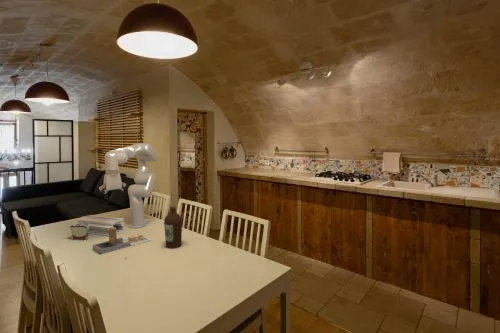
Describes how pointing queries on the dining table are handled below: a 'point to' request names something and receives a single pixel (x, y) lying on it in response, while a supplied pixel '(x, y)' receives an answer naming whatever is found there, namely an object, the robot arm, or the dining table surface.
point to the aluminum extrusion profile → (102, 224)
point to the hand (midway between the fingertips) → (113, 198)
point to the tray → (139, 242)
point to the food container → (79, 231)
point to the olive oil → (173, 228)
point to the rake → (112, 237)
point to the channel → (104, 248)
